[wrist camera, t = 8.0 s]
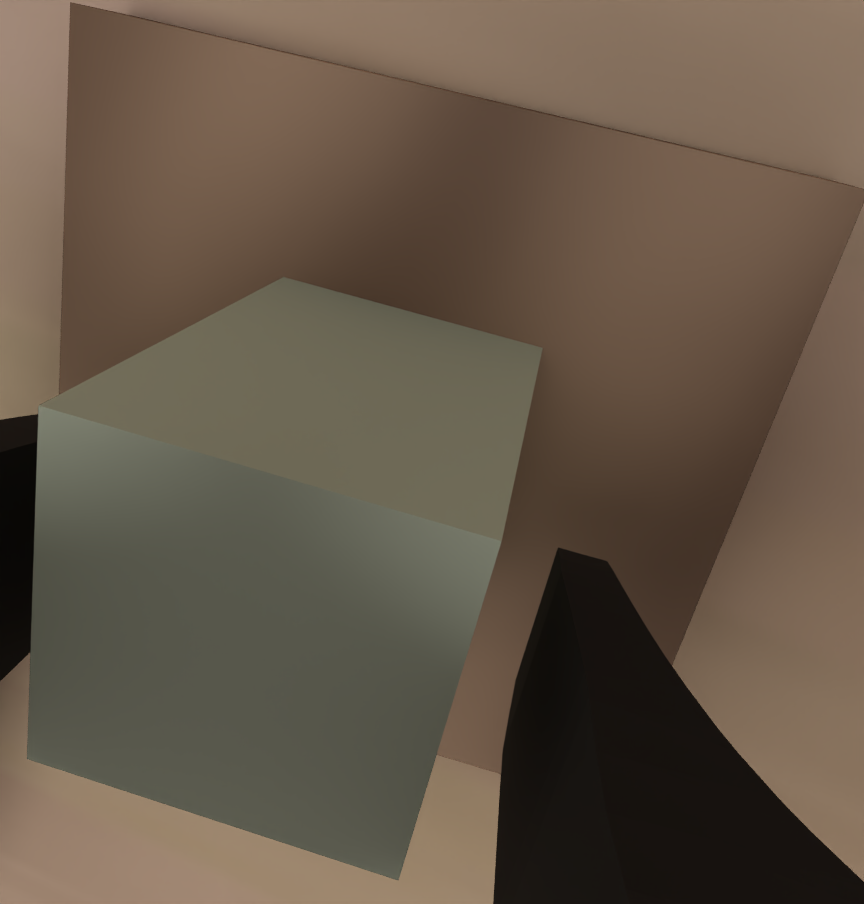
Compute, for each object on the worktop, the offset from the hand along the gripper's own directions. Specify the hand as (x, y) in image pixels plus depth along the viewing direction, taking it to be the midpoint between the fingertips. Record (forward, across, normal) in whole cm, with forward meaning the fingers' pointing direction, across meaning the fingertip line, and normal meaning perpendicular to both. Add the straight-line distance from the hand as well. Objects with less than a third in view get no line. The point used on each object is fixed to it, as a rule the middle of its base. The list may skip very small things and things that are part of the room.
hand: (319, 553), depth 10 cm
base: (+5, 0, 0) cm, 5 cm away
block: (+3, 0, 0) cm, 3 cm away
